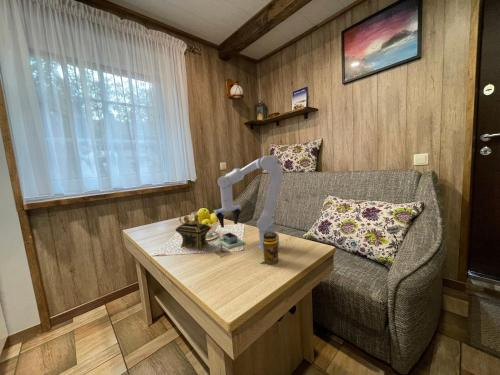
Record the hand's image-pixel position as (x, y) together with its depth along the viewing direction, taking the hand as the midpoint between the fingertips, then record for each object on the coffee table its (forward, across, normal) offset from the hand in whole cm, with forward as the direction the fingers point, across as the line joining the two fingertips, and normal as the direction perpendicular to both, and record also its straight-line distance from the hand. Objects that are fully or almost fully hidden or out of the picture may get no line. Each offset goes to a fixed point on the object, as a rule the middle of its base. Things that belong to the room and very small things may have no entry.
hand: (229, 225), depth 111 cm
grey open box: (+9, 0, 0) cm, 9 cm away
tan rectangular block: (+10, +8, +8) cm, 15 cm away
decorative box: (+10, +16, -12) cm, 23 cm away
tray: (+10, 0, 0) cm, 10 cm away
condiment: (+10, -4, +28) cm, 30 cm away
